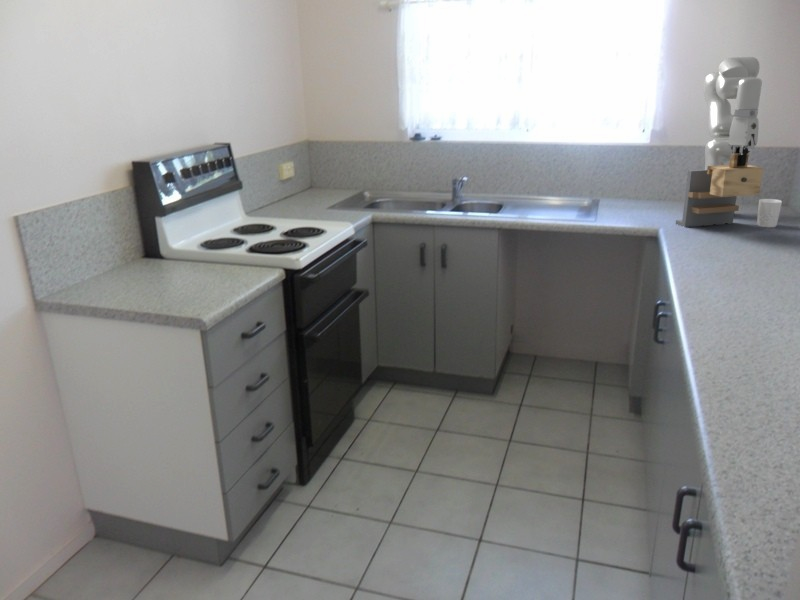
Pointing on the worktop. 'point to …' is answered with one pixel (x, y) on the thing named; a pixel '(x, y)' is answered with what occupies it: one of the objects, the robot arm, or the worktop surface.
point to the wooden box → (735, 179)
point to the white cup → (768, 212)
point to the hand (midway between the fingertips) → (738, 165)
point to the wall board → (705, 202)
